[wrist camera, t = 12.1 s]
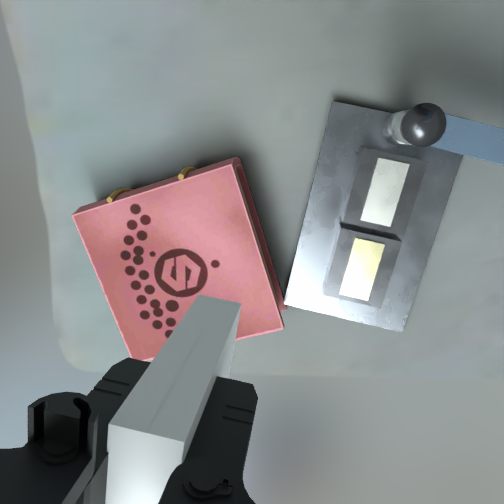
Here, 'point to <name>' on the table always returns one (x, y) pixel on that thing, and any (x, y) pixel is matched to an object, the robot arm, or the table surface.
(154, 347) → the book
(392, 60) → the table surface
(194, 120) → the table surface
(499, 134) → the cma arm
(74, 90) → the table surface
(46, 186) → the table surface
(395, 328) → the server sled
